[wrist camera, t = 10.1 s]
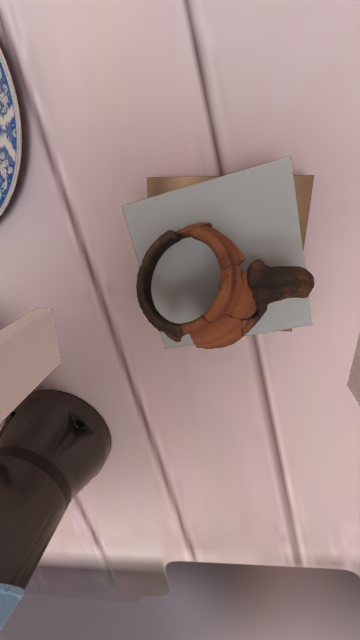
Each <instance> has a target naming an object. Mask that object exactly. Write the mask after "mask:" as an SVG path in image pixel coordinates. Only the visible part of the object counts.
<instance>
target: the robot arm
mask: <svg viewBox="0 0 360 640" xmlns="http://www.w3.org/2000/svg"><path fill="white" fill-rule="evenodd" d="M60 363H61V357H60V351H59V345H58V339H57V333H56V327H55V321H54V315H53V309H44V308H36V309H35V310H33V311H31V312H30V313H28V314H26V315H25V316H23V317H21V318H20V319H18V320H16V321H15V322H13V323H11V324H10V325H8V326H6V327H5V328H3V329H1V330H0V423H1V422H2V421H3V420H4V419H5V418H6V417H7V418H6V420H5V423H4V425H3V427H2V429H1V431H0V631H1V630H2V628H3V626H4V624H5V623H6V621H7V619H8V618H9V616H10V614H11V613H12V611H13V610H14V608H15V606H16V604H17V603H18V601H19V600H20V599H21V598H22V597H23V595H24V593H25V588H26V586H27V584H28V582H29V580H30V578H31V576H32V574H33V572H34V570H35V568H36V567H37V565H38V563H39V561H40V559H41V557H42V555H43V553H44V551H45V549H46V547H47V545H48V544H49V542H50V540H51V538H52V536H53V534H54V532H55V530H56V528H57V526H58V524H59V523H60V521H61V519H62V517H63V515H64V513H65V511H66V509H67V507H68V505H69V503H70V502H71V500H72V499H73V498H74V497H75V496H76V495H77V494H78V493H79V492H80V491H81V490H82V489H83V488H84V487H85V486H86V485H87V484H88V483H89V482H90V480H91V479H92V478H93V477H95V476H96V475H97V474H98V473H99V471H100V470H101V469H102V467H103V465H104V463H105V461H106V459H107V457H108V455H109V452H110V448H111V438H110V434H109V431H108V428H107V426H106V424H105V422H104V421H103V419H102V418H101V417H100V415H99V414H98V413H97V412H96V411H95V410H94V409H93V408H92V407H91V406H89V405H88V404H87V403H85V402H84V401H82V400H80V399H78V398H77V397H74V396H72V395H70V394H67V393H63V392H59V391H50V390H46V391H38V392H34V393H32V394H30V393H31V392H32V391H33V390H34V389H35V388H36V387H37V386H38V385H39V384H40V383H41V382H42V381H43V380H44V379H45V378H46V377H47V376H48V375H49V374H50V373H51V372H52V371H53V370H54V369H55V368H56V367H57V366H58V365H59V364H60ZM347 385H348V387H349V389H350V390H351V392H352V394H353V395H354V397H355V398H356V400H357V402H358V403H359V405H360V334H359V338H358V343H357V347H356V351H355V355H354V359H353V363H352V367H351V372H350V376H349V380H348V384H347Z"/></svg>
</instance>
